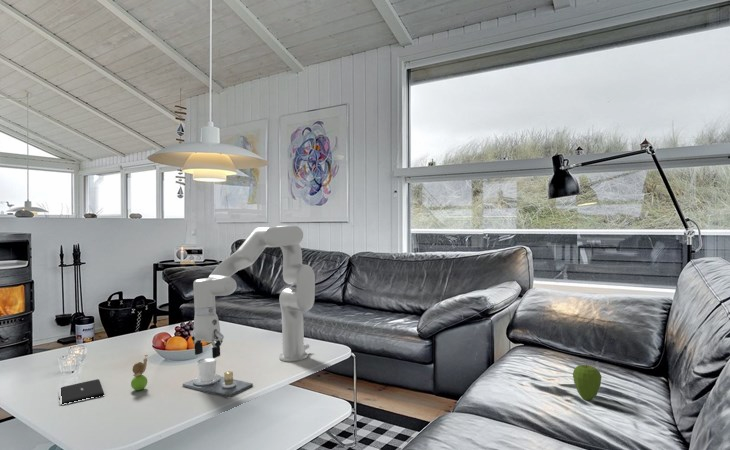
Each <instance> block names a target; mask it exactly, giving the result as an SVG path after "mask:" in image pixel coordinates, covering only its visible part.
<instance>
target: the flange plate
mask: <svg viewBox="0 0 730 450" xmlns="http://www.w3.org/2000/svg"><path fill="white" fill-rule="evenodd" d="M223 373H224V376H220V375H219V374H217V373H215V378H214V379H213V380H210V381H200V379H199V375H197V376H195V377H193V378H192V379H191V380H187V381H186V382H184V383H182V387H184V388H188V389H191V390H195V391H199V392H203V393H208V394H212V395H216V396H220V397H224V398H228V399H229V398H231V397H232V396H235V395H238V394H239V393H241V392H243V391H246V390H248V389H249V388H252V387H253V386H254V383H251V382H247V381H243V380H238V379H234V371H225V372H223Z"/></svg>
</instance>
